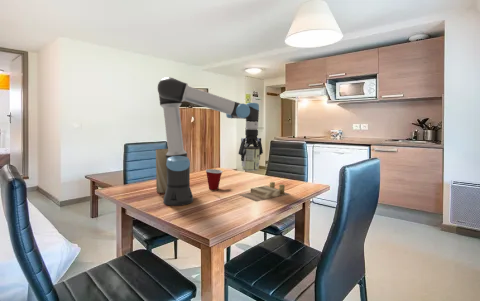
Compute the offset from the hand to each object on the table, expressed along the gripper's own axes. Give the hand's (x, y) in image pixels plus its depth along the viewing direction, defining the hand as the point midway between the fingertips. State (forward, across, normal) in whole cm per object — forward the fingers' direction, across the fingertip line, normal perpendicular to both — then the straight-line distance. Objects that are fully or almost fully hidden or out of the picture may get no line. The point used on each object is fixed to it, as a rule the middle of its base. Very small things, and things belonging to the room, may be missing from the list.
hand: (250, 165), depth 164 cm
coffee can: (+3, 0, 0) cm, 3 cm away
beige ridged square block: (+14, 0, -14) cm, 20 cm away
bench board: (+16, 0, -14) cm, 21 cm away
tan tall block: (+17, -41, +31) cm, 54 cm away
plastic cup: (+17, -14, +18) cm, 28 cm away
